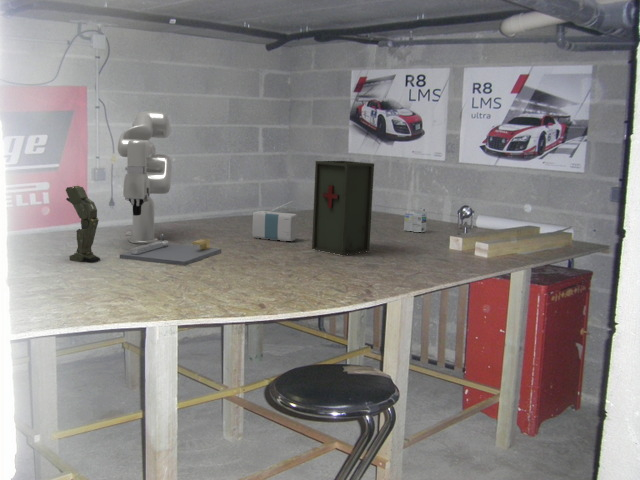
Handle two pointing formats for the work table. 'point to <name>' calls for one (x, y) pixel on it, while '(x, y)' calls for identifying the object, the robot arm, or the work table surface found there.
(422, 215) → the light bulb box
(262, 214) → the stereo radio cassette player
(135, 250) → the link
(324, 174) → the first aid box
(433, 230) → the work table surface
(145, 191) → the robot arm
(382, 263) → the work table surface
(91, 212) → the mechanical leg
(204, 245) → the strip
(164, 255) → the base plate
